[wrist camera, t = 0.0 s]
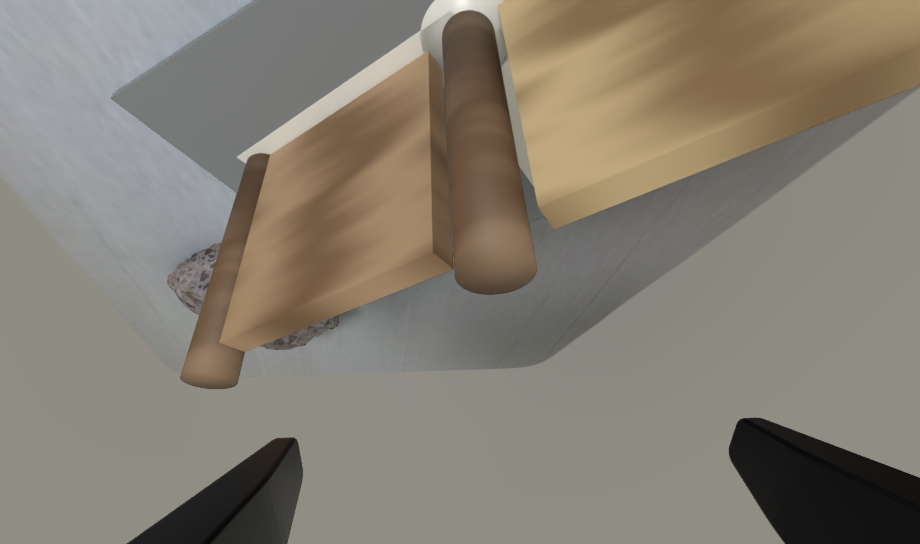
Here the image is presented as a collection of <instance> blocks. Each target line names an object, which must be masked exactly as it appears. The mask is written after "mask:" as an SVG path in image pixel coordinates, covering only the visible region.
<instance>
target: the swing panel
mask: <svg viewBox="0 0 920 544" xmlns="http://www.w3.org/2000/svg"><path fill="white" fill-rule="evenodd" d="M498 9H499V14H500V19H501V24H502V29H503V34H504V39H505V44H506V49H507V54H508V59H509V64H510V69H511V74H512V79H513V84H514V89H515V94H516V99H517V104H518V109H519V114H520V119H521V124H522V129H523V134H524V139H525V144H526V149H527V154H528V159H529V164H530V169H531V174H532V179H533V184H534V189H535V194H536V199H537V204H538V208H539V209H540V210H541V212H542V213H543V215H544V216H545V217H546V219H547V220H548V221H549V223H550V224H551V226H552V227H553V228H554V229H557V228H559V227H562V226H564V225H567V224H569V223H572V222H574V221H577V220H579V219H582V218H584V217H587V216H589V215H592V214H594V213H597V212H600V211H602V210H605V209H607V208H610V207H612V206H615V205H617V204H620V203H622V202H625V201H627V200H630V199H632V198H635V197H637V196H640V195H642V194H645V193H648V192H650V191H653V190H655V189H658V188H660V187H663V186H665V185H668V184H670V183H673V182H675V181H678V180H680V179H683V178H685V177H688V176H690V175H693V174H696V173H698V172H701V171H703V170H706V169H708V168H711V167H713V166H716V165H718V164H721V163H723V162H726V161H728V160H731V159H733V158H736V157H738V156H741V155H744V154H746V153H749V152H751V151H754V150H756V149H759V148H761V147H764V146H766V145H769V144H771V143H774V142H776V141H779V140H781V139H784V138H787V137H789V136H792V135H794V134H797V133H799V132H802V131H804V130H807V129H809V128H812V127H814V126H817V125H819V124H822V123H824V122H827V121H829V120H832V119H835V118H837V117H840V116H842V115H845V114H847V113H850V112H852V111H855V110H857V109H860V108H862V107H865V106H867V105H870V104H872V103H875V102H877V101H880V100H883V99H885V98H888V97H890V96H893V95H895V94H898V93H900V92H903V91H905V90H908V89H910V88H913V87H915V86H918V85H920V0H505V1H503V2H502V3H500V4H499V5H498Z"/></svg>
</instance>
